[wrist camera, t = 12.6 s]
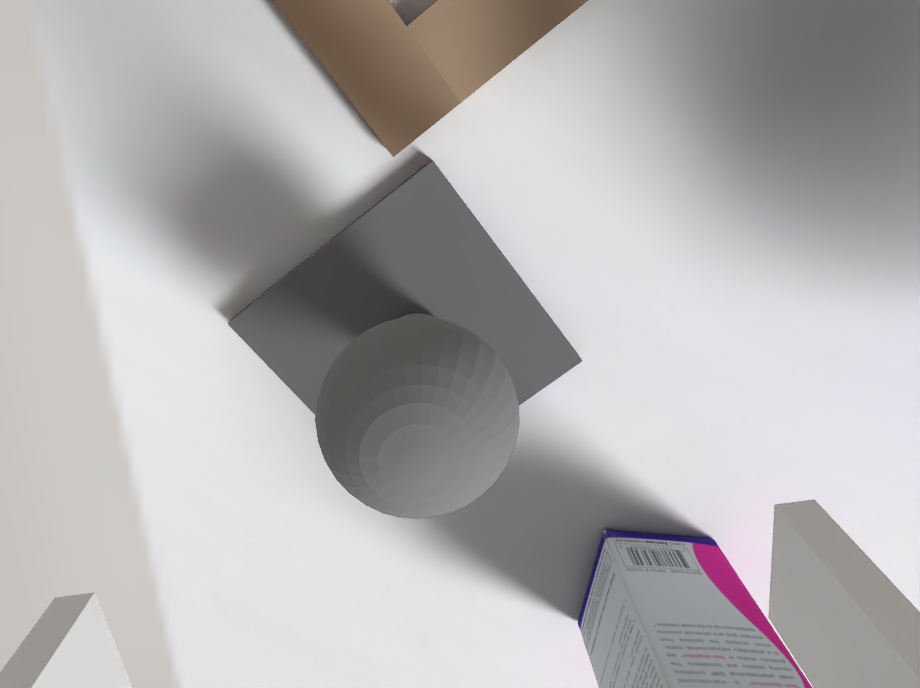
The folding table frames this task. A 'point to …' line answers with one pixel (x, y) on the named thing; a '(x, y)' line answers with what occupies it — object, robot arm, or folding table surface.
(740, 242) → the folding table surface
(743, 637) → the supplement box
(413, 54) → the wooden picture frame
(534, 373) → the mat
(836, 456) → the folding table surface
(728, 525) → the folding table surface
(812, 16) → the folding table surface
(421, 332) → the light bulb
